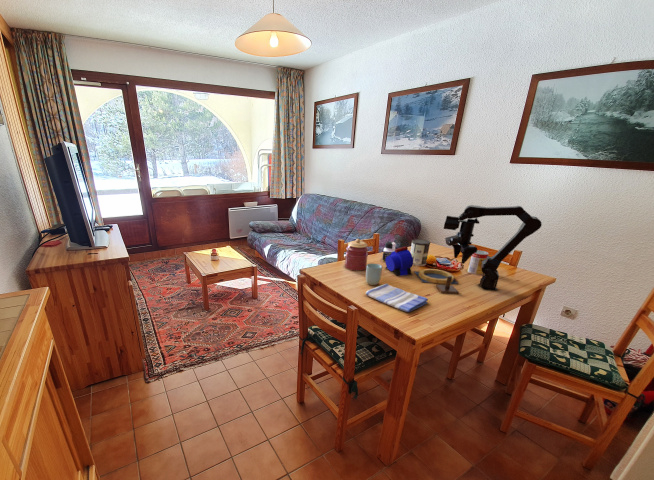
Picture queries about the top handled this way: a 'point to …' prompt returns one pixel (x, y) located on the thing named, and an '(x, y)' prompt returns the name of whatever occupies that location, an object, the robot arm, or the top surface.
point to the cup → (373, 273)
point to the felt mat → (434, 277)
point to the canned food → (477, 262)
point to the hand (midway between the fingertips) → (459, 260)
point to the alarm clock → (400, 261)
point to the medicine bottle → (388, 250)
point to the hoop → (436, 271)
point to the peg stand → (447, 287)
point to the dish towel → (397, 297)
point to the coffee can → (419, 251)
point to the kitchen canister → (356, 255)
